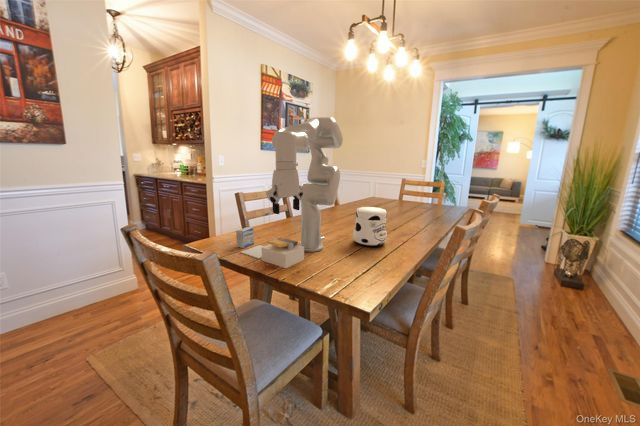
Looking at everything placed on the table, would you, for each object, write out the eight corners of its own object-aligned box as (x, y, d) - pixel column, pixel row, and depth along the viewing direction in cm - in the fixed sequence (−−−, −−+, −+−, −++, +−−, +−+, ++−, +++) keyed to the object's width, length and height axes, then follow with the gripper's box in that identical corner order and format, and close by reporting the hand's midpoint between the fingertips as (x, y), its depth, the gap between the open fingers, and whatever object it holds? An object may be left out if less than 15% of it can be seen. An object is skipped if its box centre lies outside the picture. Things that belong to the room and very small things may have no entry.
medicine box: (243, 248, 136) (243, 231, 134) (236, 247, 138) (235, 230, 136) (254, 244, 143) (253, 227, 141) (247, 242, 145) (246, 226, 143)
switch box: (280, 252, 132) (280, 234, 130) (304, 259, 124) (304, 241, 122) (261, 260, 123) (261, 241, 121) (285, 268, 115) (285, 248, 113)
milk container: (386, 250, 138) (389, 214, 134) (351, 247, 142) (353, 212, 138) (385, 239, 155) (388, 207, 151) (354, 236, 158) (355, 205, 154)
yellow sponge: (285, 242, 129) (286, 238, 129) (297, 245, 125) (298, 241, 125) (266, 245, 119) (267, 240, 119) (279, 248, 115) (279, 244, 115)
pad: (260, 245, 140) (259, 244, 140) (277, 251, 133) (277, 250, 133) (240, 252, 130) (240, 251, 130) (258, 259, 124) (258, 258, 124)
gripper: (297, 164, 112) (297, 206, 116) (260, 166, 100) (261, 213, 104) (310, 165, 106) (309, 209, 111) (272, 168, 95) (273, 217, 99)
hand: (286, 211), depth 107 cm, fingers open, 9 cm apart
